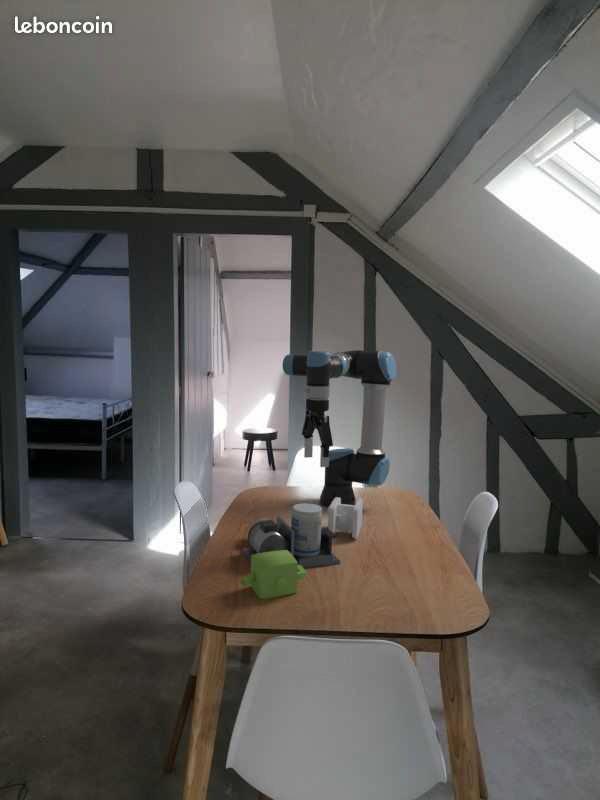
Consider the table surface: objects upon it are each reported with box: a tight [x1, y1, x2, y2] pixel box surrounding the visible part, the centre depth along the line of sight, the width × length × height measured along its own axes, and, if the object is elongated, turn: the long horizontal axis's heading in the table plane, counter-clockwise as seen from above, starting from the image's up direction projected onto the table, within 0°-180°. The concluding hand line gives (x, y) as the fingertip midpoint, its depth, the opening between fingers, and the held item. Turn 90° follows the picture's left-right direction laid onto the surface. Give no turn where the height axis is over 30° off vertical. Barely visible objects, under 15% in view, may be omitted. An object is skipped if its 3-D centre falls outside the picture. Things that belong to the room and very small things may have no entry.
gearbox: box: [240, 550, 308, 600], centre depth 148 cm, size 18×10×10 cm, turn 113°
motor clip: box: [242, 516, 341, 569], centre depth 172 cm, size 27×18×12 cm, turn 111°
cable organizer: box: [327, 497, 364, 540], centre depth 196 cm, size 15×11×12 cm
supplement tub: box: [290, 503, 323, 557], centre depth 174 cm, size 10×10×15 cm
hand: (316, 461), depth 183 cm, fingers open, 13 cm apart
